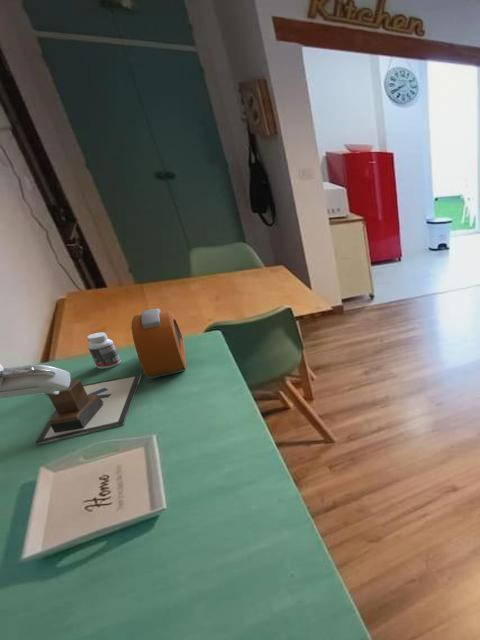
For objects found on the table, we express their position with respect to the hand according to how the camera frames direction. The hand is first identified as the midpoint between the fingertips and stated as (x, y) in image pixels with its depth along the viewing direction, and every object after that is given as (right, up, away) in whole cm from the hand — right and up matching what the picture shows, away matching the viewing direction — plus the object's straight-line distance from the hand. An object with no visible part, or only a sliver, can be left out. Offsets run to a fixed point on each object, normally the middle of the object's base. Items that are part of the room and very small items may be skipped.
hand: (24, 395), depth 85 cm
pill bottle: (-21, +4, +39) cm, 44 cm away
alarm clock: (-4, +4, +41) cm, 41 cm away
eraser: (-4, -8, +15) cm, 17 cm away
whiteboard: (-6, -6, +21) cm, 22 cm away
